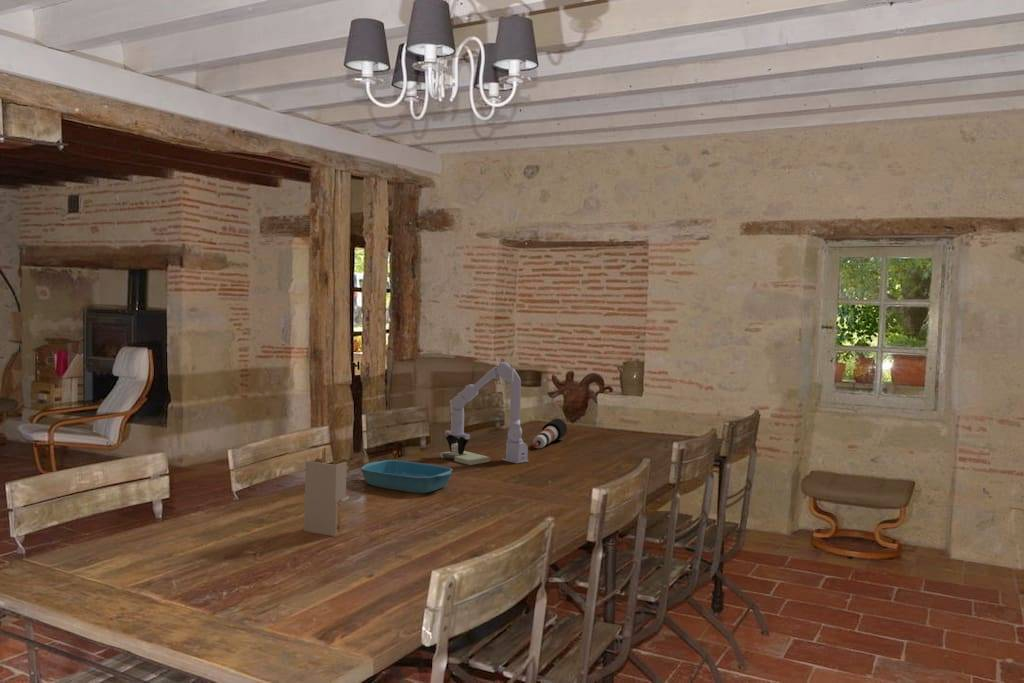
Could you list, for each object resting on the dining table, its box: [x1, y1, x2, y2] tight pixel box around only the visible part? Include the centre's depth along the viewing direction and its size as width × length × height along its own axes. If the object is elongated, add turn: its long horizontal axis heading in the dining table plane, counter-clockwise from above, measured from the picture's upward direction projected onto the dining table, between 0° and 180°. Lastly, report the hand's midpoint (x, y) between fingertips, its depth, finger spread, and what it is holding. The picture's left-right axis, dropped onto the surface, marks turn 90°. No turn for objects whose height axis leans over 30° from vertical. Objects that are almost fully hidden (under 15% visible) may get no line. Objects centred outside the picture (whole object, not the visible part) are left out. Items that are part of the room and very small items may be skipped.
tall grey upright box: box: [303, 447, 350, 537], centre depth 246 cm, size 8×12×26 cm
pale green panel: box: [439, 450, 491, 466], centre depth 359 cm, size 20×12×2 cm, turn 45°
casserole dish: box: [360, 459, 453, 494], centre depth 308 cm, size 37×22×7 cm, turn 62°
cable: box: [532, 418, 568, 449], centre depth 402 cm, size 10×34×10 cm, turn 158°
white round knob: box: [451, 442, 462, 456], centre depth 361 cm, size 5×5×5 cm
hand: (456, 453), depth 361 cm, fingers closed on white round knob, 5 cm apart
